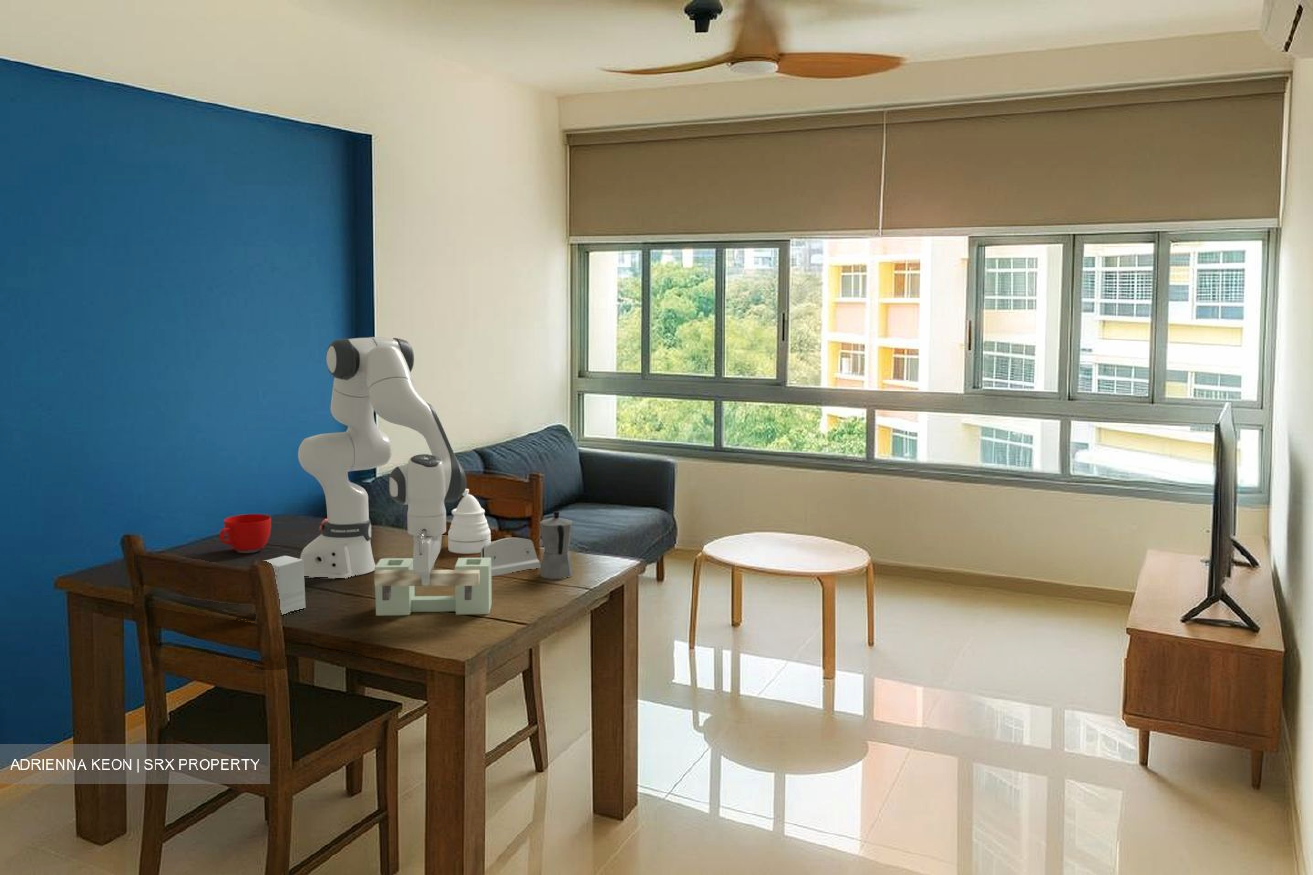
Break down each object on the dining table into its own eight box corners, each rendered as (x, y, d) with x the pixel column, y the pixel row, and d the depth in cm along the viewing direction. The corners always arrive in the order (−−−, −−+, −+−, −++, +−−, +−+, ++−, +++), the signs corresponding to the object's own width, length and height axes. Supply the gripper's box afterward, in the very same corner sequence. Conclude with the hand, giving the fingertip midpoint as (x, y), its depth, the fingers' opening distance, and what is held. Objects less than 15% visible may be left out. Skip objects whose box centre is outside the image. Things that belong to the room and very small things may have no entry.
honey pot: (439, 548, 308) (438, 490, 306) (472, 541, 318) (472, 484, 315) (466, 555, 300) (465, 496, 297) (499, 548, 310) (499, 490, 307)
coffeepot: (536, 569, 286) (536, 507, 284) (569, 567, 288) (569, 505, 286) (544, 584, 271) (544, 519, 269) (578, 582, 274) (579, 517, 271)
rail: (374, 600, 236) (374, 573, 235) (377, 596, 239) (376, 569, 238) (478, 600, 238) (478, 573, 237) (479, 596, 241) (479, 569, 240)
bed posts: (376, 615, 244) (374, 567, 242) (382, 605, 252) (381, 558, 250) (488, 613, 246) (488, 566, 244) (491, 603, 254) (491, 557, 252)
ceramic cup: (205, 557, 295) (203, 523, 293) (248, 544, 310) (247, 512, 309) (239, 562, 290) (237, 528, 288) (281, 548, 305) (280, 516, 304)
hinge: (489, 576, 278) (483, 540, 280) (481, 578, 282) (476, 543, 283) (542, 567, 288) (536, 533, 289) (534, 569, 292) (528, 535, 293)
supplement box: (287, 603, 252) (285, 554, 250) (306, 609, 248) (304, 559, 246) (261, 611, 246) (259, 560, 244) (280, 617, 242) (278, 565, 240)
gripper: (434, 536, 226) (435, 595, 228) (445, 514, 246) (446, 569, 248) (405, 536, 225) (406, 595, 227) (419, 514, 245) (420, 569, 248)
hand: (427, 582), depth 238 cm, fingers closed on rail, 3 cm apart
